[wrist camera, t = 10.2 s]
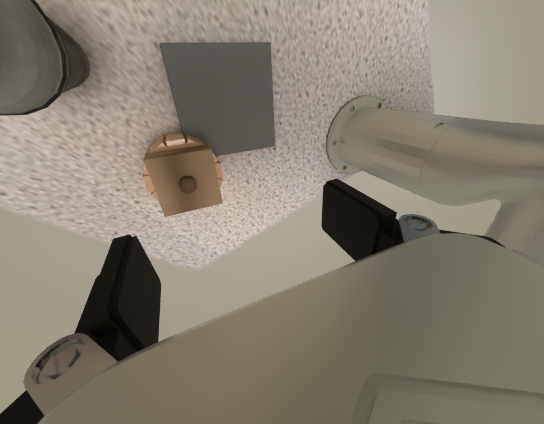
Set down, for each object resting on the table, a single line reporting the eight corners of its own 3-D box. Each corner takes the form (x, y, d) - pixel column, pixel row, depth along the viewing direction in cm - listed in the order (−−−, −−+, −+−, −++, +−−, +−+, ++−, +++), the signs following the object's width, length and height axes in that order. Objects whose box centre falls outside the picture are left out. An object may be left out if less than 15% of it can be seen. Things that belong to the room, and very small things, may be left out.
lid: (208, 144, 25) (212, 150, 23) (218, 195, 28) (223, 205, 26) (145, 153, 23) (143, 161, 21) (164, 207, 26) (164, 219, 24)
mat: (267, 43, 26) (270, 42, 25) (272, 144, 32) (274, 146, 32) (159, 44, 22) (159, 43, 22) (189, 158, 29) (189, 160, 28)
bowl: (209, 128, 28) (214, 134, 25) (220, 189, 32) (227, 200, 29) (134, 138, 25) (130, 146, 22) (158, 202, 30) (158, 216, 27)
